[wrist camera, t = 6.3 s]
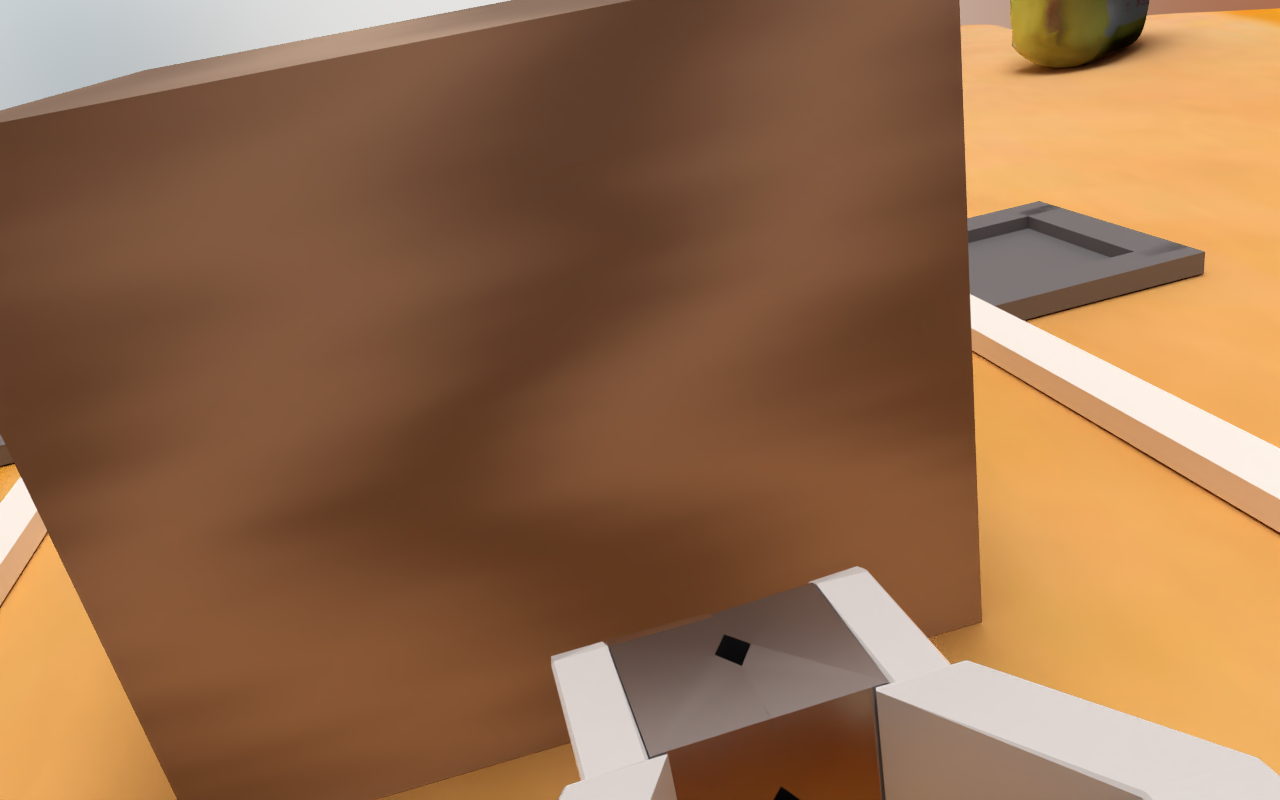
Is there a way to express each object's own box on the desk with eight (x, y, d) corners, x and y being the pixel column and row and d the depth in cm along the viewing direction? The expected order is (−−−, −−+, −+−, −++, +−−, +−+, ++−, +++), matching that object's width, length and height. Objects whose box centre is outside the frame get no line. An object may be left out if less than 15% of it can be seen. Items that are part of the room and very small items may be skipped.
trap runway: (-984, 1261, 11) (-1324, 1037, 10) (-1, 354, 40) (-45, 260, 39) (1675, 429, 17) (1740, 200, 15) (859, 159, 46) (852, 69, 44)
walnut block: (204, 856, 14) (-138, 149, 10) (292, 482, 25) (145, 70, 21) (982, 628, 16) (957, -63, 12) (745, 369, 26) (689, -34, 22)
